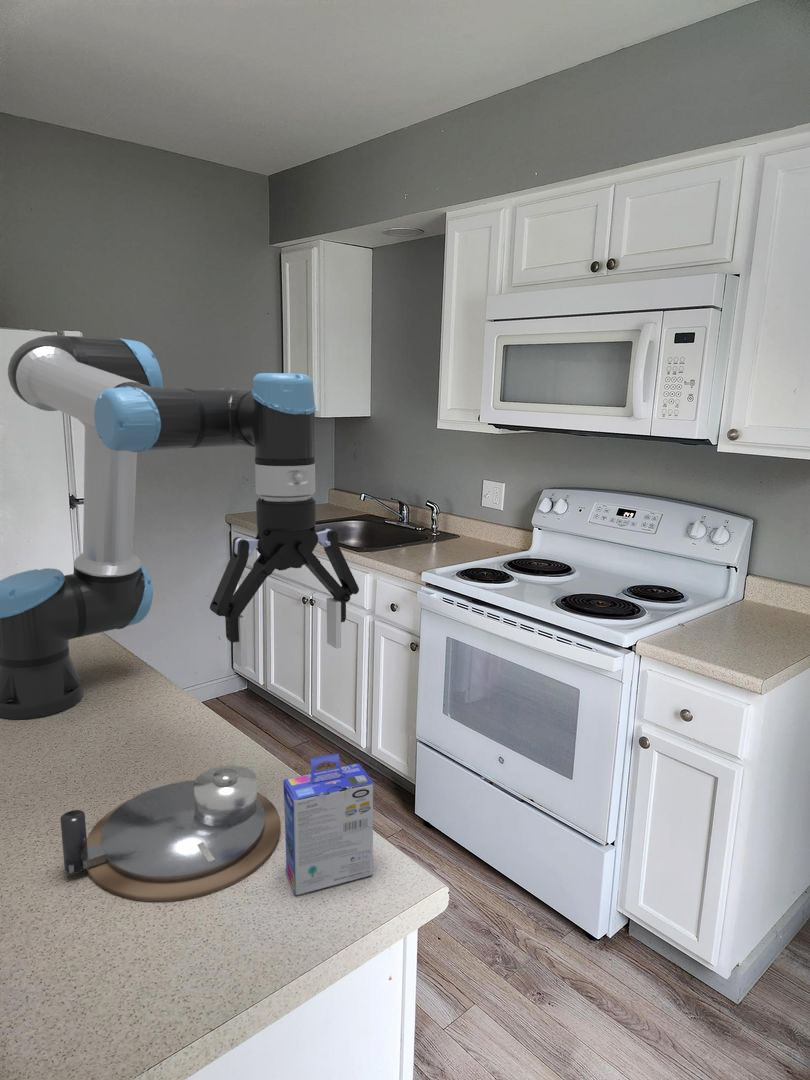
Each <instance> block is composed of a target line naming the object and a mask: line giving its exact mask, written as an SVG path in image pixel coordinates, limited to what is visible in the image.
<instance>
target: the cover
mask: <svg viewBox="0 0 810 1080" xmlns="http://www.w3.org/2000/svg"><path fill="white" fill-rule="evenodd" d="M194 781H195V782H194V801H195V816H196V818H197V819H198V820H199V821H200V822H202V823H204V824H206V825H210V826H231V825H235V824H238V823H241V822H243V821H245V820H247V819H249V818H250V817H251V816H252V815H253V814H254V813H255V812H256V810H257V792H258V778H257V775H256V772H254V771H253V770H252V769H250V768H248V767H245V766H241V765H221V766H216V767H213V768H212V767H211V768H210V769H208V770H206V771H204V772H202V773H200V774H199V775H198V776H197V777H196V779H194Z"/></svg>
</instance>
